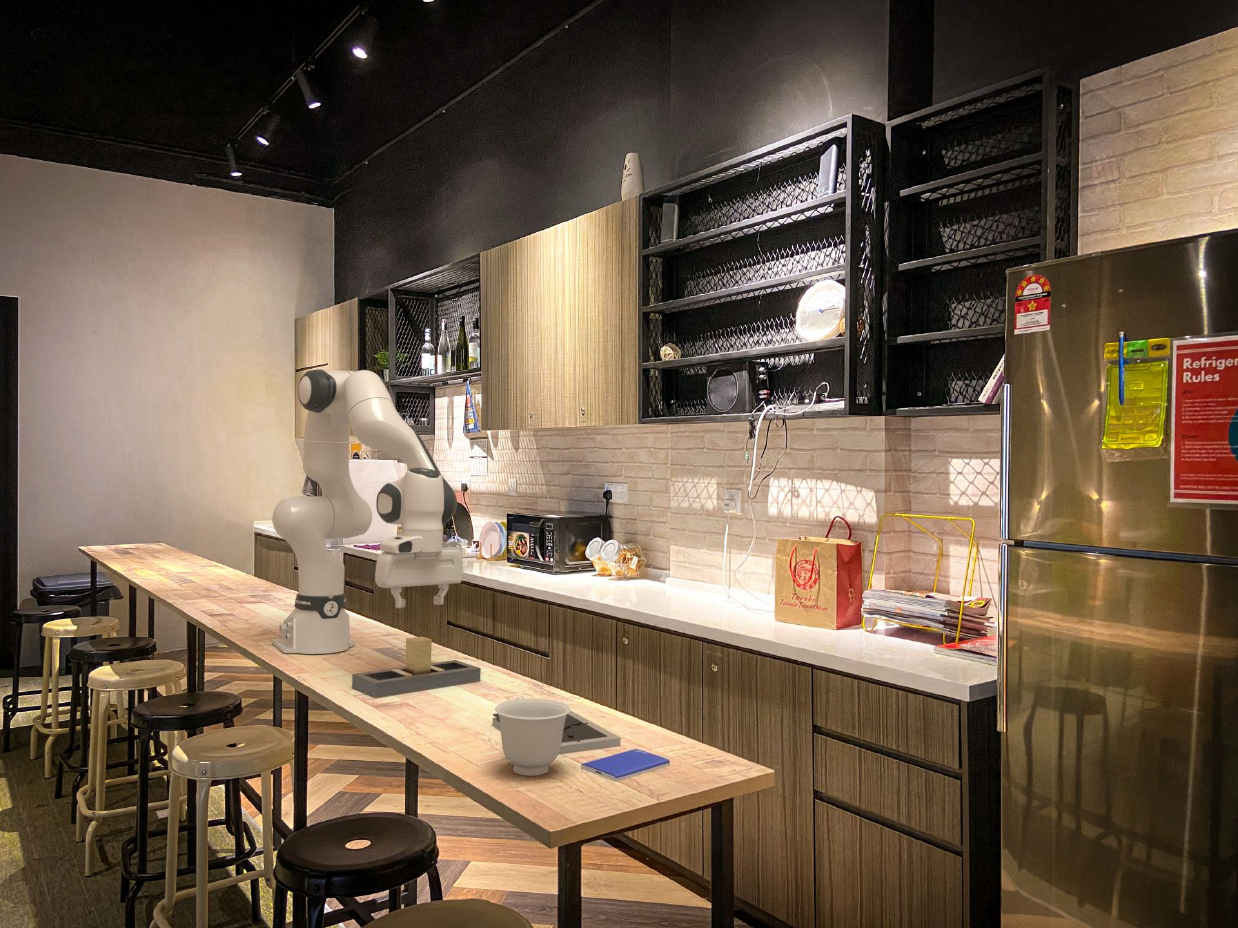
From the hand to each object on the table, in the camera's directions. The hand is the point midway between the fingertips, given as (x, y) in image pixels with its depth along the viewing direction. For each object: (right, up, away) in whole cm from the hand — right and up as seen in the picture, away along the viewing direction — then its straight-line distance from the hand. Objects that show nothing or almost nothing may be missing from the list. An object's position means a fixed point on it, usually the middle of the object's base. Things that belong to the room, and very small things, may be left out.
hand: (419, 605), depth 204 cm
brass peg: (0, -17, 0) cm, 17 cm away
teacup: (+29, -18, -53) cm, 63 cm away
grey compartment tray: (0, -17, 0) cm, 17 cm away
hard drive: (+45, -19, -52) cm, 71 cm away
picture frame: (+32, -19, -35) cm, 51 cm away
